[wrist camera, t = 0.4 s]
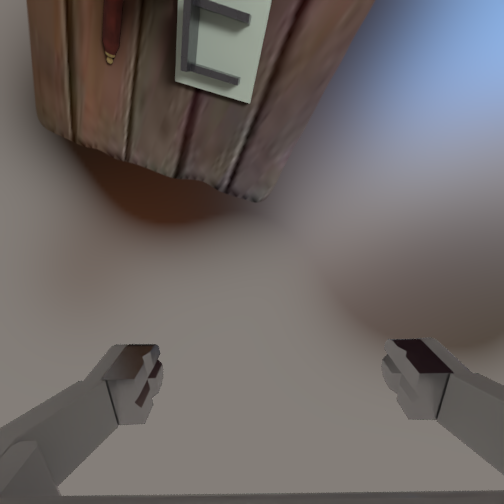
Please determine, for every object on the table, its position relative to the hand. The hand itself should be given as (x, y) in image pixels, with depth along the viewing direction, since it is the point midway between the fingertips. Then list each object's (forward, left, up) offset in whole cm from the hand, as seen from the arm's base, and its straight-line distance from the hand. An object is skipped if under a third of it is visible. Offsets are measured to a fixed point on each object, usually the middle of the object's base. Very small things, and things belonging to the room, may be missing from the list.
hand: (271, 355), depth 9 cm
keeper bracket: (-13, -5, -50) cm, 52 cm away
